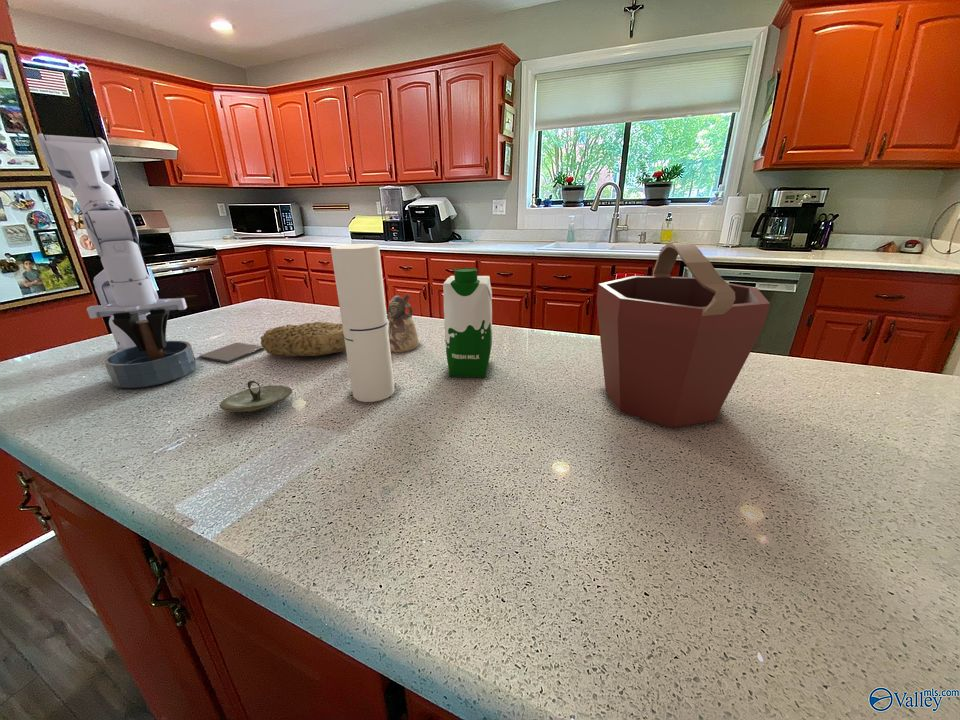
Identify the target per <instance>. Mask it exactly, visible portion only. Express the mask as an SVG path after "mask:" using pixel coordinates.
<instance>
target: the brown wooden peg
mask: <svg viewBox="0 0 960 720" xmlns="http://www.w3.org/2000/svg"><path fill="white" fill-rule="evenodd" d="M136 326H137V328H138V331H139V334H140V337H141V340H142V342H143V345H144V348H145V351H146V354H147V357H148V359H149V361H153V360H157V359H161V358H165V355H164V352H163V349H159V347H158V345H157V342H156V338H155V335H154V332H153V330H152V328H151V326H150V324H149V322H148V320H141V321H137V322H136Z"/></svg>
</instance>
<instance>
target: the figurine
mask: <svg viewBox="0 0 960 720" xmlns="http://www.w3.org/2000/svg"><path fill="white" fill-rule="evenodd" d="M410 298H411V295H409V294H407V293H406V294H405V295H404V296H403V297H402V296H400V295H394V296H393V297H392V298H391V299H390V300H389V301H388V307H387V308H388V309H387V310H386V315H387V322H388V333H389V343H390V352H394V353H395V352H396V353H404V352H409V351H413V350H415V349H416V348H417V347H418V345H419V336H418V331H417V327H416V324H415V322H414V319H413V313H414V312H413V307H412V305H411V304H410V303H409V302H408V301H409V300H410ZM406 309H408V312H406Z"/></svg>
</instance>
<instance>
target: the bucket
mask: <svg viewBox="0 0 960 720" xmlns="http://www.w3.org/2000/svg"><path fill="white" fill-rule="evenodd" d="M678 257H679V258H680V260H681V261H682V262H683V263H684V264H685V266H686V267H687V269H688V271H689V272H690V274H691V275H692V276H671V273H672V270H673V268H674V267H675V264H676V261H677V258H678ZM596 296H597V297H596V311H597V320H598V330H599V339H600V349H601V361H602V367H603V368H602V370H603V378H604V387H605V388H604V389H605V392H606V394H607V395H608V397H609V399H610V400H611V401H612V403H613V404H614V406H615V407H616V408H617V410H618V411H619V412H620V414H624V415H628V416H631V417H633V418H637V419H641V420H644V421H647V422H651V423H653V424H657V425H661V426H664V427H667V428H670V429H671V428H678V427H683V426H690V425H696V424H704V423H708V422H709V423H710V422H715V420H716V418H717V417H718V415H719V413H720V411H721V409H722V407H723V405H724V403H725V401H726V399H727V398H728V396H729V394H730V392H731V390H732V388H733V386H734V384H735V382H736V380H737V378H738V377H739V375H740V373H741V371H742V369H743V367H744V365H745V363H746V361H747V360H748V358H749V356H750V355H751V352H752V350H753V348H754V346H755V344H756V343H757V341H758V339H759V336H760V334H761V333H762V331H763V329H764V327H765V324H766V320H767V317H768V312H769V308H770V305H771V303H770V301H769V300H768V299H767V298H766V297H765V296H764V295H763V293H762V292H761V291H760V290H759V289H758V288H757V287H755V286H754V287H753V286H749V285H742V284H737V283H730V282H726V280H725V279H724V277H722V276H721V275H720V273H718V271H717V270H716V268H715V267H714V266H713V264H712V262H711V261H710V260H709V259H708V258H707V257H706V256H705V255H704V254H703V252H702V251H701V250H700V249H699V248H698V246H696V245H695V244H693V243H688V242H687V243H682V242H681V243H680V242H679V243H666V244H665V246H663V247H662V249H660V251H659V253H658V256H657V258H656V261H655V264H654V268H653V272H652V276H651V275H645V276H644V275H631V276H625V277H622V278H618V279H613V280H610V281H605V282H601V283H598V285H597V293H596Z"/></svg>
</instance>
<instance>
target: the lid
mask: <svg viewBox="0 0 960 720" xmlns="http://www.w3.org/2000/svg"><path fill="white" fill-rule="evenodd" d="M252 384H256V385H257V387H254V388H253V387H252V388H251V385H252ZM292 394H293V389H292V388H291V387H289V386H287V385H286V386H285V385H263V386H261V385H260V383H259V382H257V381H255V380H249V381H247V389H245V390H242V391H238V392H236V393H234V394H232V395H229V396H228V397H225V398H224V399H223V400H222V401H220V403H219V407H220V409H221V410H224V411H227V412H235V413H236V412H238V413H240V412H249V413H252V412H256V411H259V410H262V409H265V408H268V407H271V406H273V405H276V404H278V403H280V402H282V401H283V400H285V399H286V398H288V397H289V396H291V395H292Z"/></svg>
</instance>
